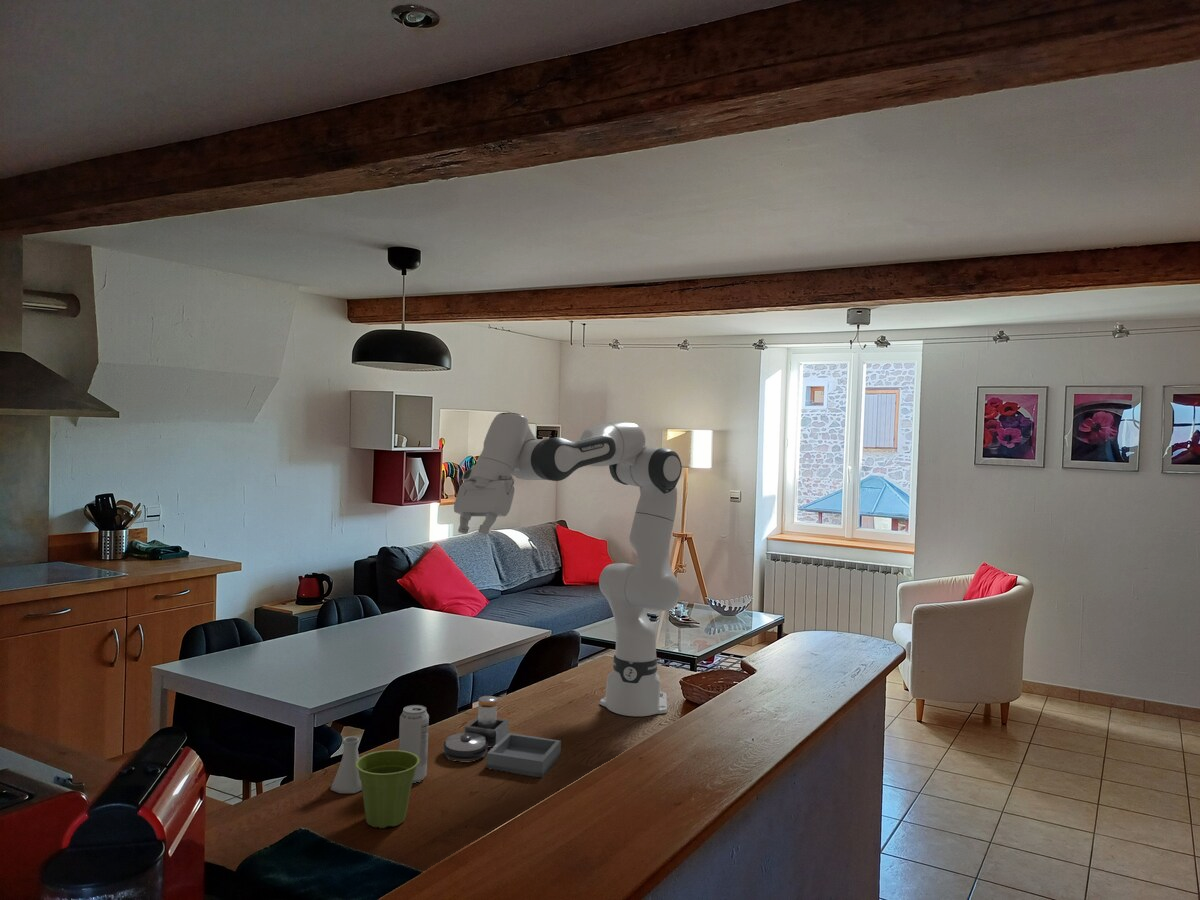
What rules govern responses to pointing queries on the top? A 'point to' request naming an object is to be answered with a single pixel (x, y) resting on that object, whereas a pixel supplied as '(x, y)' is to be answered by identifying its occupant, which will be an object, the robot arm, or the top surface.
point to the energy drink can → (415, 736)
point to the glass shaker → (487, 712)
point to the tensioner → (474, 741)
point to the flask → (348, 769)
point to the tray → (524, 755)
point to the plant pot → (386, 785)
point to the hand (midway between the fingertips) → (472, 533)
